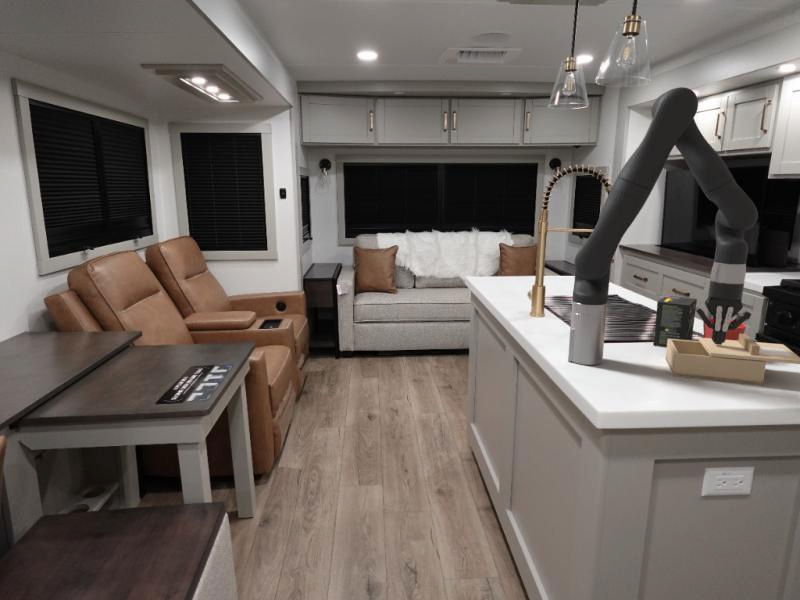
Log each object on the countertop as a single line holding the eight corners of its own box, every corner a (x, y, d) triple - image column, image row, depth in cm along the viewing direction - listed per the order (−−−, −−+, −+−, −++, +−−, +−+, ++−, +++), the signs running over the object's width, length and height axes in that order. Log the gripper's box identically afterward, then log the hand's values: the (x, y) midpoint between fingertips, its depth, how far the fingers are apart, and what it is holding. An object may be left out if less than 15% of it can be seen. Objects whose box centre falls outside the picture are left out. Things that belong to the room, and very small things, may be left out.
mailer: (673, 375, 135) (676, 353, 134) (665, 358, 149) (667, 338, 148) (762, 384, 128) (766, 362, 127) (745, 366, 142) (748, 345, 141)
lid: (710, 355, 131) (712, 343, 130) (698, 340, 145) (700, 329, 144) (804, 364, 125) (806, 351, 124) (782, 347, 138) (784, 335, 138)
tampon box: (660, 338, 170) (665, 294, 167) (692, 343, 164) (697, 298, 161) (652, 345, 161) (656, 300, 158) (684, 351, 156) (690, 304, 153)
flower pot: (733, 349, 157) (738, 319, 155) (747, 361, 147) (751, 328, 145) (695, 347, 160) (698, 316, 158) (705, 357, 149) (709, 325, 147)
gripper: (701, 280, 132) (692, 345, 136) (761, 284, 128) (750, 350, 131) (695, 276, 139) (687, 337, 142) (752, 279, 134) (742, 342, 138)
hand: (717, 343), depth 137 cm, fingers closed
